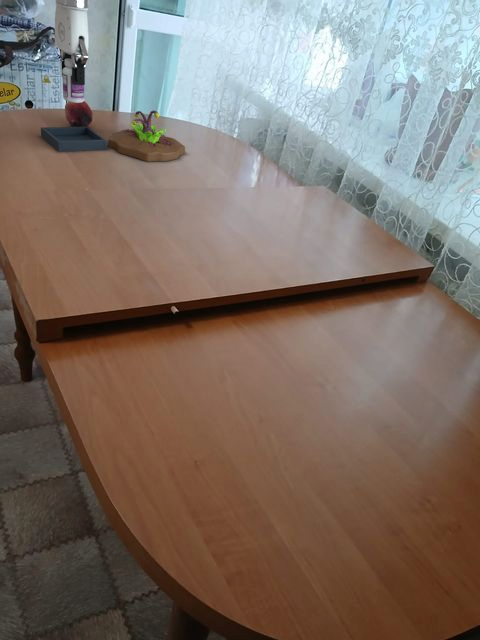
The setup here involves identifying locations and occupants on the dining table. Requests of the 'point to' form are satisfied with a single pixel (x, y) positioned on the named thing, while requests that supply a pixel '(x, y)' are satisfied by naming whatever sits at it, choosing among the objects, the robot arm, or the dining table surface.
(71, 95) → the pill bottle
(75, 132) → the tray
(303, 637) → the dining table surface
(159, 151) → the plant
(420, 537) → the dining table surface
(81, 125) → the fruit
